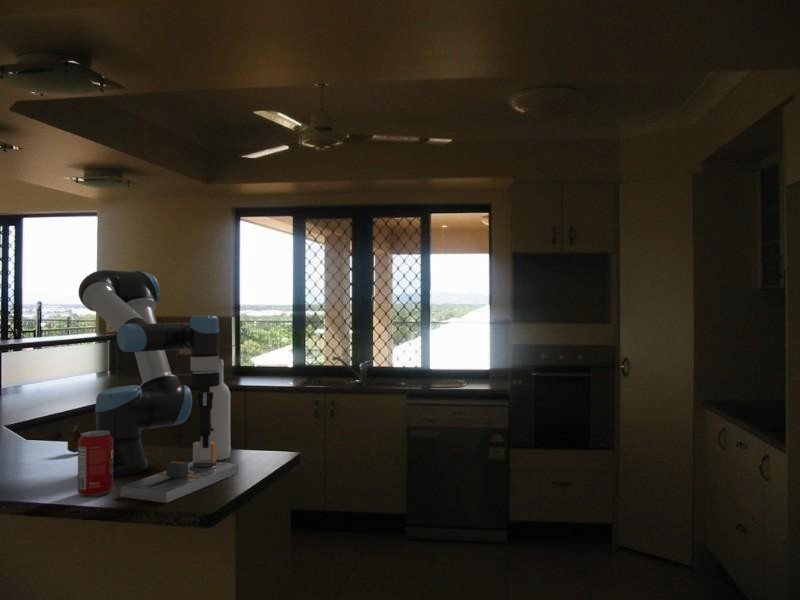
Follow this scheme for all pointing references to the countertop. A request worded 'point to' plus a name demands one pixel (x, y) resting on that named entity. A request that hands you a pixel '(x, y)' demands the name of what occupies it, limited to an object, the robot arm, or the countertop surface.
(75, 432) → the amber spray bottle
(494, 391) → the countertop surface
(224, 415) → the bottle
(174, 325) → the robot arm
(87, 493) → the soda can
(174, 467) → the fader
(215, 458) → the dial
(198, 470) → the console
